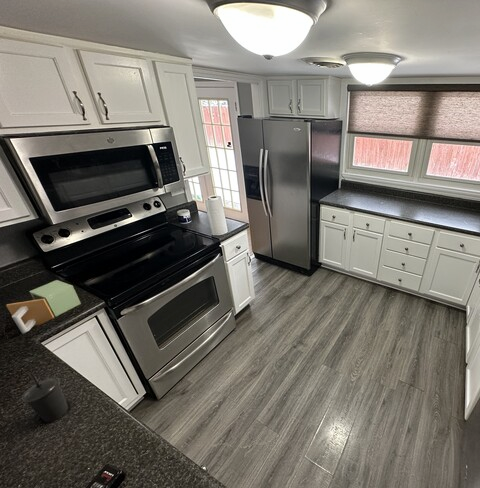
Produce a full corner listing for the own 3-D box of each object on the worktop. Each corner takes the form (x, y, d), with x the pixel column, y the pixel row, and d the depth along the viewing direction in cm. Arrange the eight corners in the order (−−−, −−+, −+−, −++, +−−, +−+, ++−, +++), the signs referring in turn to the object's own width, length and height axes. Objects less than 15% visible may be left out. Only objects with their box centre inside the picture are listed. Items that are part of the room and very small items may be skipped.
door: (47, 333, 112) (34, 309, 107) (10, 340, 108) (-6, 316, 103) (56, 321, 119) (44, 298, 113) (21, 327, 114) (7, 304, 109)
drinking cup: (73, 424, 80) (44, 377, 72) (39, 438, 76) (4, 390, 68) (79, 403, 86) (53, 358, 78) (48, 415, 82) (17, 369, 74)
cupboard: (57, 321, 119) (45, 297, 113) (41, 314, 123) (29, 291, 117) (82, 307, 127) (72, 285, 122) (67, 301, 131) (56, 279, 125)
